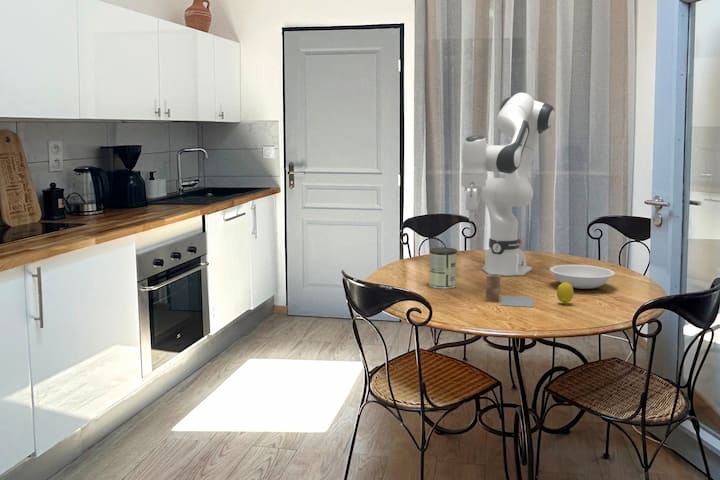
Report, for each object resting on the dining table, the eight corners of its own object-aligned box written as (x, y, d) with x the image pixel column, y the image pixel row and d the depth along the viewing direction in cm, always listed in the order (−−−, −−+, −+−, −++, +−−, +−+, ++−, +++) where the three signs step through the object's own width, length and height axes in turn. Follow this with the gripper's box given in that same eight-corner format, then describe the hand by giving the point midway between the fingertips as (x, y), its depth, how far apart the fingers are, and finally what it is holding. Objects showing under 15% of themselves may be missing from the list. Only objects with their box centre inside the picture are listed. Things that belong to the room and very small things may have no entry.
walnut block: (485, 301, 265) (486, 276, 263) (486, 298, 269) (487, 273, 267) (498, 302, 264) (499, 276, 262) (499, 299, 268) (500, 274, 266)
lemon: (554, 302, 264) (555, 280, 262) (569, 302, 264) (570, 279, 263) (559, 306, 258) (560, 283, 257) (575, 306, 259) (576, 283, 257)
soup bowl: (613, 297, 272) (614, 279, 271) (545, 291, 280) (546, 274, 279) (615, 283, 294) (616, 267, 293) (552, 278, 303) (553, 262, 301)
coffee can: (432, 282, 295) (433, 246, 293) (458, 284, 292) (459, 248, 289) (425, 287, 285) (426, 250, 283) (452, 289, 282) (453, 252, 280)
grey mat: (500, 305, 259) (500, 304, 259) (501, 296, 272) (501, 295, 272) (533, 307, 257) (533, 306, 256) (533, 297, 270) (533, 297, 270)
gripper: (480, 184, 260) (479, 223, 262) (484, 179, 280) (482, 216, 282) (462, 183, 261) (461, 223, 264) (466, 179, 281) (465, 215, 283)
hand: (472, 219), depth 273 cm, fingers open, 6 cm apart
